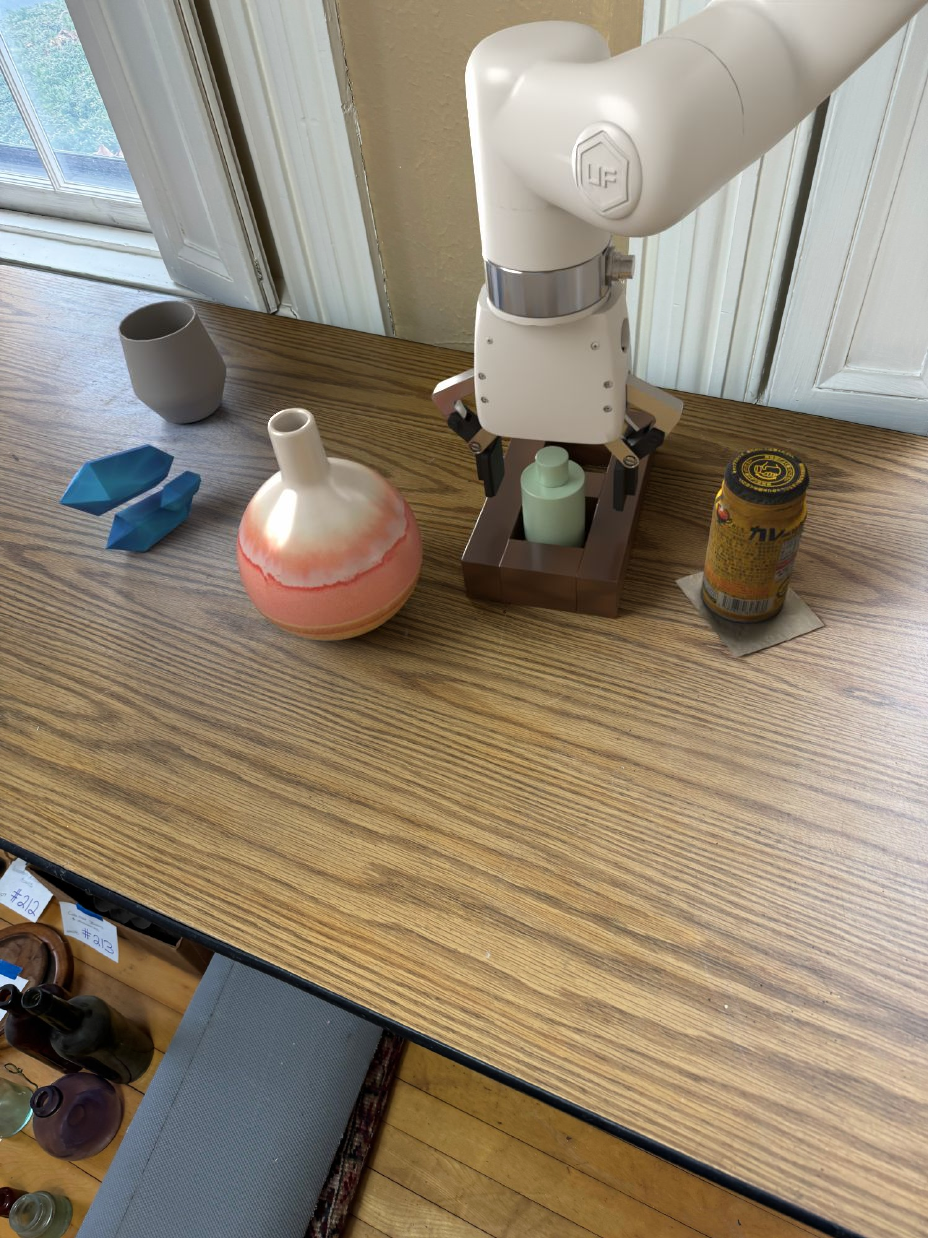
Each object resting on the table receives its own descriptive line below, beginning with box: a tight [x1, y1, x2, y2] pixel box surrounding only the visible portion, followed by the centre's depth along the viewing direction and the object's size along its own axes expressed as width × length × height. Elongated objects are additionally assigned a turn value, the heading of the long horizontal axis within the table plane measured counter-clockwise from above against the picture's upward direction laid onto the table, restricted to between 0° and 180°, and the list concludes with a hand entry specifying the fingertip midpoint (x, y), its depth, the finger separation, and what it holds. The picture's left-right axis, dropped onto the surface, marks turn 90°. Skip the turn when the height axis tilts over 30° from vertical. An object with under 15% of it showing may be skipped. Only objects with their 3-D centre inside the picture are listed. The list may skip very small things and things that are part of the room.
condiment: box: [674, 447, 825, 658], centre depth 59 cm, size 7×8×12 cm
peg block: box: [460, 410, 658, 619], centre depth 70 cm, size 12×21×4 cm, turn 163°
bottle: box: [520, 446, 586, 548], centre depth 66 cm, size 5×5×10 cm
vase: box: [235, 407, 424, 642], centre depth 61 cm, size 14×14×18 cm
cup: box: [117, 300, 227, 424], centre depth 86 cm, size 10×9×10 cm
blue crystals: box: [58, 443, 202, 553], centre depth 74 cm, size 7×9×12 cm
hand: (557, 492), depth 64 cm, fingers open, 9 cm apart
